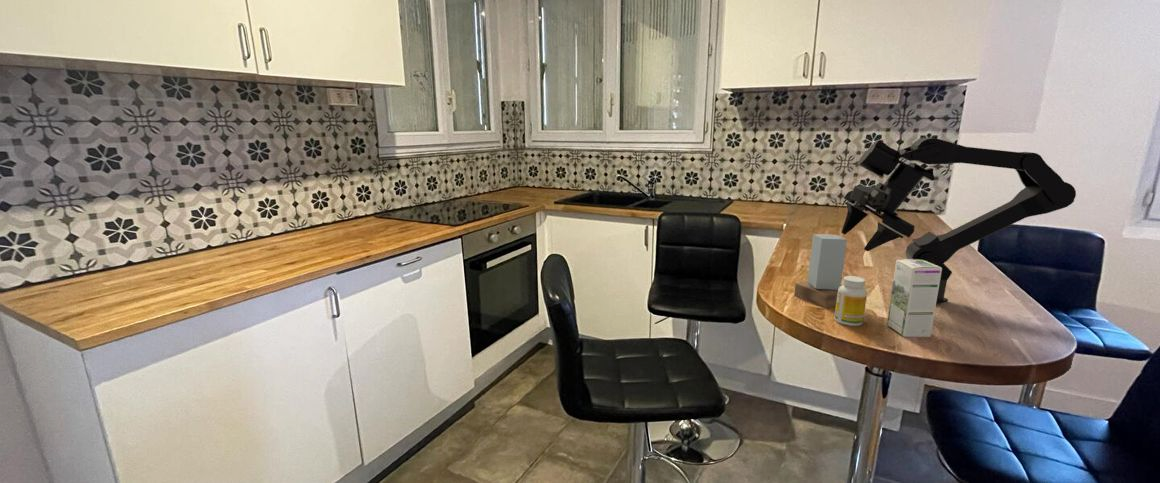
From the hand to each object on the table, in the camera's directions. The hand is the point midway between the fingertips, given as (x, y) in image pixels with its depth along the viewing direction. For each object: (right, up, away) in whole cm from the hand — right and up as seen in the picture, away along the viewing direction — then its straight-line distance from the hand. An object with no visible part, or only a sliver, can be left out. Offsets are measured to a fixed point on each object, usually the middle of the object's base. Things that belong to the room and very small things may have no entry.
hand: (854, 241), depth 120 cm
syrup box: (-1, -18, -21) cm, 28 cm away
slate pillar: (-9, -11, -3) cm, 14 cm away
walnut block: (-9, -14, -2) cm, 17 cm away
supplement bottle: (-10, -17, -16) cm, 25 cm away
